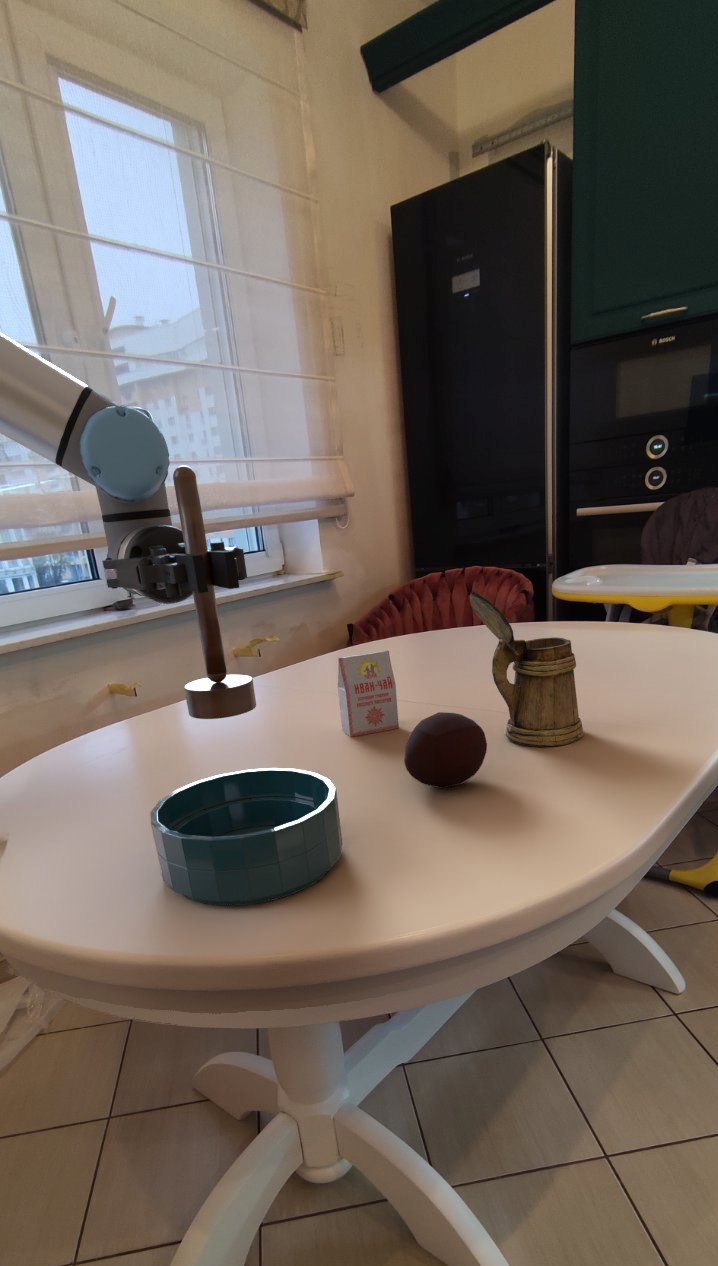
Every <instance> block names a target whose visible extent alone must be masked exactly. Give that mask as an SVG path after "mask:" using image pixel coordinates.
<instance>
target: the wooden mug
mask: <svg viewBox="0 0 718 1266" xmlns="http://www.w3.org/2000/svg"><path fill="white" fill-rule="evenodd" d="M469 604H470V606H471V608H472V609H473V611H474V613H475V614H476V616H477V617H478V619H479V620H480V621H481V622H482V623H483V624H484V625H485V626H486V628H487V629H488V630H489V631H490V632H491V633H492V634H493V635H494V636H495V637H496V638H497V640H498V643H497V645H496V647H495V649H494V653H493V657H492V662H491V673H492V678H493V682H494V684H495V686H496V688H497V690H498V692H499V694H500V695H501V697H502V699H503V700H504V702H505V704H506V706H507V708H508V713H509V719H508V720H507V721H506V729H505V737H507V738H508V739H509V741H512V742H513V743H514V744H517V745H521V746H528V747H537V748H538V747H539V748H542V747H544V748H545V747H558V746H565V745H569V744H571V743H574V742H576V741H578V740H579V739H581V738H582V737H583V736H584V728H583V723H582V720H581V718H580V714H579V706H578V698H577V689H576V679H575V669H576V667H577V661H576V656H575V654H574V652H573V650H572V641H571V639H567V638H564V637H558V636H557V637H553V636H552V637H542V638H533V639H530V640H525V639H515V636H514V630H513V627H512V625H511V624H510V623H509V621H508V619H507V618H506V617H505V615H504V614H503V613H502V612H501V610H500V609H499V608H498V607H496V605H495V604H493V603H492V602H491V601H490V600H489V599H487V598H486V597H485V596H482V595H481V594H479V593H477V592H475V591H473V590H471V591H470V595H469ZM512 663H513V664H512ZM511 664H512V670H513V671H514V680H513V681H514V682H513V683H512V682H510V681H509V679H508V669H509V667H510V665H511Z"/></svg>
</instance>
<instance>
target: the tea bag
mask: <svg viewBox="0 0 718 1266" xmlns="http://www.w3.org/2000/svg"><path fill="white" fill-rule="evenodd" d="M337 662H338V665H337V667H338V668H337V670H338V672H337V690H338V691H337V693H338V702H339V711H340V712H339V713H340V720H341V721H340V723H341V730H342V731H343V733H345V734H347V736H348V737H350V738H352V737H358V736H362V735H363V736H364V735H369V734H374V733H380V732H385V731H391V730H396V729H400V725H399V724H400V723H399V713H398V712H399V711H398V698H397V697H398V696H397V684H396V680H395V676H394V670H393V666H392V662H391V656H390V651H389V650H382V651H376V652H370V653H363V654H355V655H349V656H344V657H338V658H337Z"/></svg>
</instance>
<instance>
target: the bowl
mask: <svg viewBox="0 0 718 1266" xmlns="http://www.w3.org/2000/svg"><path fill="white" fill-rule="evenodd" d="M149 813H150V815H149V816H150V826H151V831H152V836H153V840H154V845H155V849H156V854H157V858H158V863H159V868H160V873H161V876H162V880H163V882H164V883H165V884H166V885H167V886H168V887H169V888H170V889H171V890H172V891H173V892H175V893H177V894H180V895H182V896H184V897H186V898H187V899H190V900H192V901H195V902H197V903H202V904H208V905H213V906H246V905H247V906H248V905H254V904H260V903H265V902H271V901H274V900H277V899H282V898H284V897H287V896H290V895H293V894H295V893H298V892H300V891H303V890H304V889H306V888H308V887H310V886H312V885H313V884H315V883H316V882H318V881H320V880H321V879H322V878H324V876H326V874H327V873H328V872H329V871H330V870H331V869H332V868H333V866H334V865H335V864H336V863H337V862H338V860H339V859H340V858H341V857H342V850H343V837H342V827H341V817H340V809H339V801H338V791H337V787H336V786H335V785H334V783H333V782H332V781H331V780H330V778H327V777H325V776H323V775H321V774H319V773H317V772H314V771H308V770H304V769H298V768H280V767H279V768H278V767H269V768H267V767H266V768H254V769H244V770H239V771H234V772H227V773H222V774H218V775H213V776H210V777H207V778H203V779H200V780H197V781H194V782H192V783H189V784H187V785H185V786H182V787H180V788H177V789H175V790H173V791H172V792H170V793H169V794H168V795H166V796H165V797H163V798H161V799H160V800H158V802H157V803H156V804H155V806H154V807H153V808H152V809H151V810H150V812H149Z"/></svg>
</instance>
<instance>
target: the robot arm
mask: <svg viewBox="0 0 718 1266" xmlns="http://www.w3.org/2000/svg"><path fill="white" fill-rule="evenodd" d="M0 435H2V436H4V437H6V438H7V439H9V440H12V441H13V442H15V443H17V444H19V445H20V446H22V447H24V448H26V449H28V450H29V451H32V452H33V453H35V454H36V455H37V454H38V455H39V456H41V457H42V458H45V459H46V460H48V461H50V462H52V463H53V464H55V465H57V466H59V467H61V468H62V469H63V470H65V471H67V472H69V473H70V474H72V475H73V476H76V477H78V478H80V479H81V480H83V481H85V482H86V483H89V484H91V485H92V486H94V487H95V490H96V495H97V499H98V503H99V507H100V513H101V520H102V525H103V530H104V535H105V539H106V544H107V554H106V558H105V559H104V560H102V561H101V562H102V565H103V572H104V576H105V579H106V584H107V588H111V589H112V590H114V589H118V588H121V589H123V590H124V591H126V592H128V593H131V594H133V595H134V596H135V595H137V596H140V597H144V598H146V599H148V600H151V601H154V602H156V603H158V604H159V605H160V606H165V605H172V604H178V603H181V602H184V601H186V600H187V599H189V598H190V597H191V596H193V592H196V593H203V592H208V587H207V580H206V574H205V568H204V562H203V556H202V555H195V554H186V551H185V545H184V539H183V533H182V529H180V528H178V527H175V526H173V522H172V515H171V510H170V508H169V499H168V494H167V487H166V481H167V478H168V475H169V466H170V452H169V448H168V444H167V441H166V439H165V436H164V434H163V432H162V431H161V430H160V428H159V427H158V426H157V424H156V423H155V422H154V418H153V415H152V414H151V412H150V411H149V410H148V409H146V408H143V407H139V406H132V405H131V406H129V405H128V406H127V405H120V404H118V403H117V402H115V401H113V400H112V399H110V398H109V397H107V396H106V395H104V394H102V393H100V392H98V391H96V390H95V389H93V388H92V387H89V385H87V384H86V383H85V382H83V381H81V380H79V379H78V378H76V377H75V376H73V375H71V374H70V373H68V372H66V371H65V370H63V369H61V368H60V367H58V366H56V365H55V364H53V363H51V362H49V361H48V360H46V359H45V358H43V357H41V356H40V355H38V354H36V353H35V352H33V351H31V350H30V349H28V348H26V347H25V346H23V345H22V344H20V343H18V342H17V341H15V340H14V339H11V338H10V337H8V336H7V335H5V334H3V333H2V332H0ZM209 547H210V550H209V549H208V555H209V561H210V567H211V573H212V580H213V586H214V587H220V588H224V589H227V590H232V589H239V588H240V582H239V581H244V580H245V579H248V573H247V565H246V559H245V551H244V548H241V547H239V546H238V545H234V544H230V545H228V546H226V547H225V541H218V542H217V541H216V542H210V543H209ZM192 591H193V592H192Z"/></svg>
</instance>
